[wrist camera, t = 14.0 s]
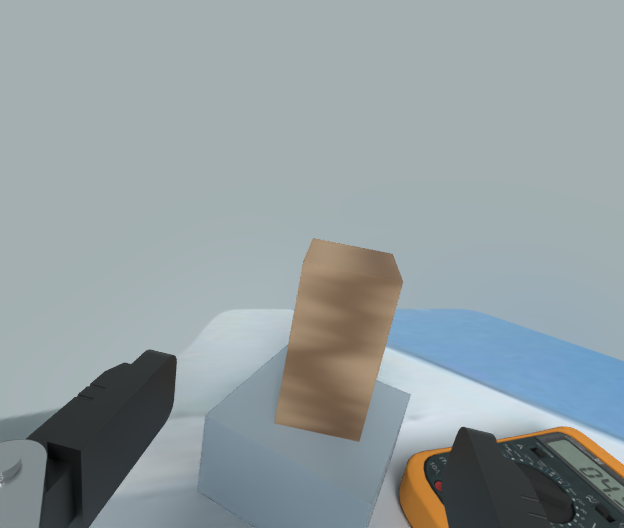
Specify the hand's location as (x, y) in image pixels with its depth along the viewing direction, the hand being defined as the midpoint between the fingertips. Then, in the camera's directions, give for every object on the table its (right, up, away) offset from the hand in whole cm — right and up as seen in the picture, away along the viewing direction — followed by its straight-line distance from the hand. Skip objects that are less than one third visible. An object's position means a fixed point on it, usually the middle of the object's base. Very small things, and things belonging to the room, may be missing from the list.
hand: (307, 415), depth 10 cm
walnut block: (+1, -5, +14) cm, 14 cm away
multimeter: (+15, -14, +15) cm, 25 cm away
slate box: (0, -10, +15) cm, 19 cm away
